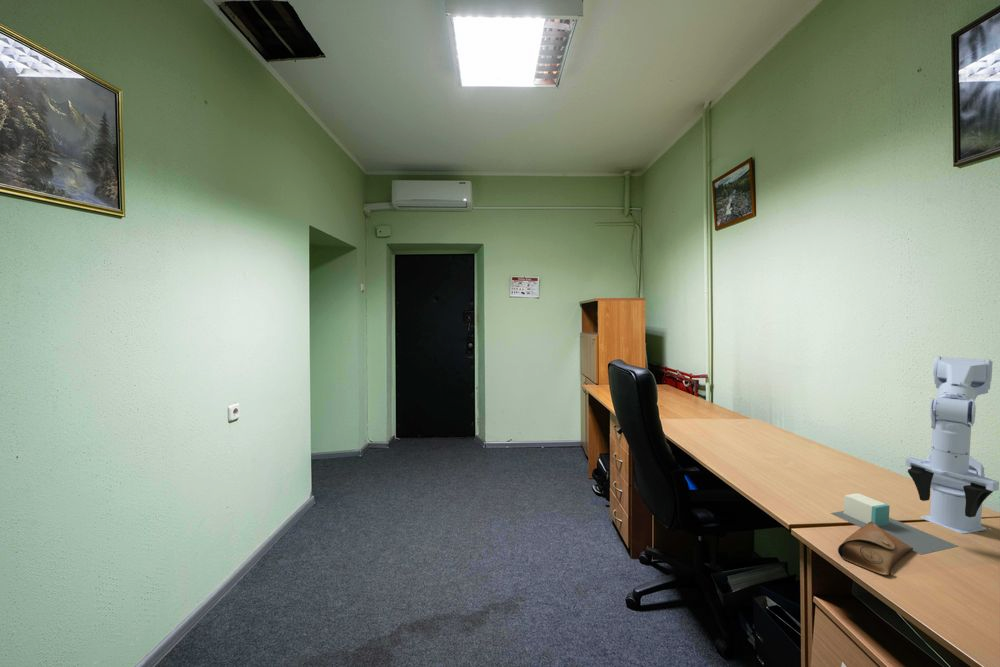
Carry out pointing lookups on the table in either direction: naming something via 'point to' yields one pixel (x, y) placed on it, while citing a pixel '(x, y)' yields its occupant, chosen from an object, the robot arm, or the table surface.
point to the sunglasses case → (873, 549)
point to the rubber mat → (906, 535)
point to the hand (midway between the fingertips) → (946, 507)
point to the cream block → (866, 509)
